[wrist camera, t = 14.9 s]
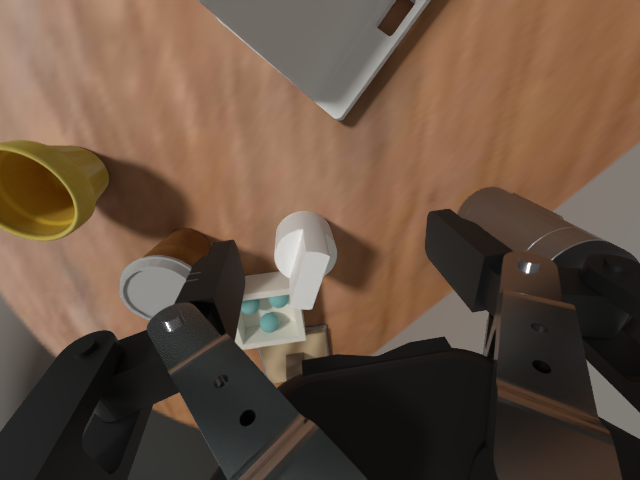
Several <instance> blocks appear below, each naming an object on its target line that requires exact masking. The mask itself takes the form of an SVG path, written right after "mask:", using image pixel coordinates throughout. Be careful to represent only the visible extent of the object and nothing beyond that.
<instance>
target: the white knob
mask: <svg viewBox="0 0 640 480" xmlns="http://www.w3.org/2000/svg"><path fill="white" fill-rule="evenodd" d="M274 259H275V263H276V266H277V268H278V269H279V271H280V272H281V273H282V274H283V275H284V276H286V277H288V278H289V287H290V307H293V308H297V309H303V310H311V309H312V308H313V305H314V302H315V299H316V296H317V294H318V291H319V288H320V285H321V282H322V279H323V276H325V275H326V274H328V273H329V272H330V271H331V270H332V268H333V267H334V265H335V263H336V259H337V248H336V245H335V241H334V238H333V235H332V232H331V229H330V226H329V224H328V222H327V221H326V220H325V219H324V218H323V217H322V216H320V215H319V214H316V213H314V212H310V211H299V212H295V213H292V214H290V215H288V216H287V217H285V218H284V219H283V220H282V221H281V223H280V224H279V225H278V228H277V230H276V240H275V255H274Z"/></svg>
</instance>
